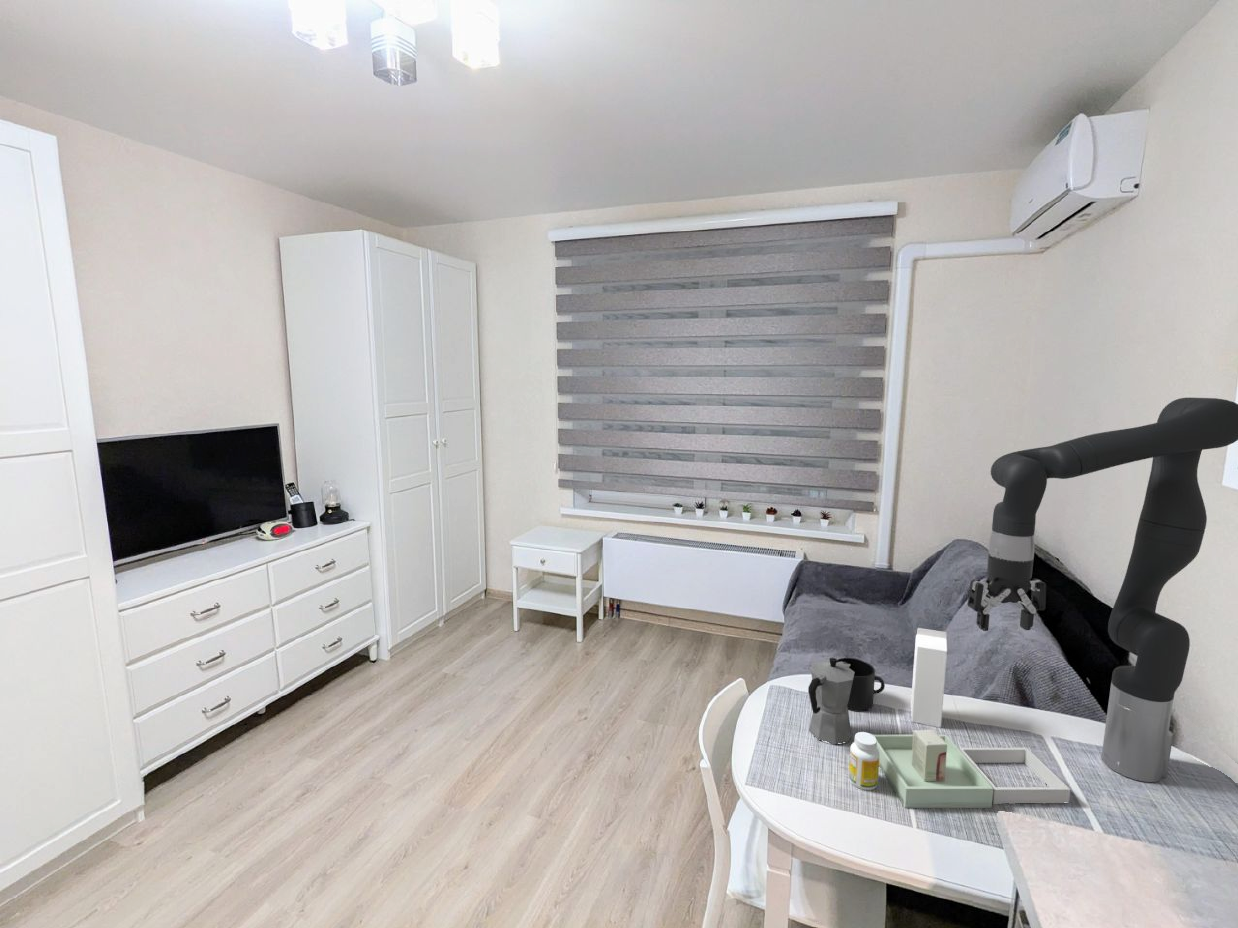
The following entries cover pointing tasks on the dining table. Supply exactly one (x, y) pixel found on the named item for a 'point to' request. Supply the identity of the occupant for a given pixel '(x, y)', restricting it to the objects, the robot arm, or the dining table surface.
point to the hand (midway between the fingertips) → (1003, 628)
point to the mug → (862, 684)
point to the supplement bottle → (864, 761)
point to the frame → (1013, 795)
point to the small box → (929, 755)
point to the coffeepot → (830, 700)
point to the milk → (928, 677)
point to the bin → (953, 792)
